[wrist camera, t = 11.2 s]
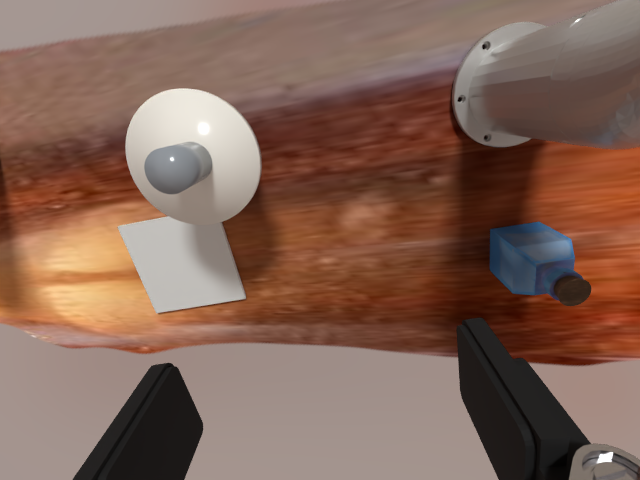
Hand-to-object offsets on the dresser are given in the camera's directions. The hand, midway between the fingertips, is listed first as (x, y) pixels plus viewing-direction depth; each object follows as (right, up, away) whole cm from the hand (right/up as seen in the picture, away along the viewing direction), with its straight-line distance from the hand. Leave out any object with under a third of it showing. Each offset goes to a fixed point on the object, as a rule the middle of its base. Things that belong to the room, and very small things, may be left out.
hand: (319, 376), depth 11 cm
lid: (-11, +12, +20) cm, 26 cm away
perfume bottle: (+26, +4, +34) cm, 43 cm away
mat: (-19, +1, +36) cm, 41 cm away
